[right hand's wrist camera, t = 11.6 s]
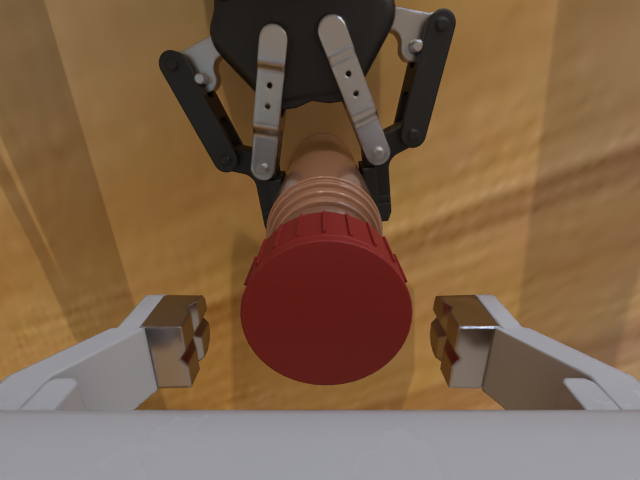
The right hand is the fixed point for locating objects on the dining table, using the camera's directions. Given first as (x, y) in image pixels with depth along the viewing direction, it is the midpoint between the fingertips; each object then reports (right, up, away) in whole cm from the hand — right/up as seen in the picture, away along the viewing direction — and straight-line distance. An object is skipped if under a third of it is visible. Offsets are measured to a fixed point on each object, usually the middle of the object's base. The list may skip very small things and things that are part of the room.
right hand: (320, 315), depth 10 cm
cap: (0, 0, -2) cm, 2 cm away
